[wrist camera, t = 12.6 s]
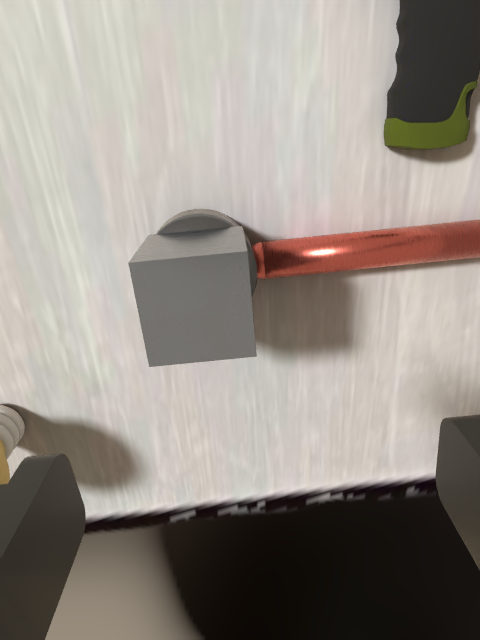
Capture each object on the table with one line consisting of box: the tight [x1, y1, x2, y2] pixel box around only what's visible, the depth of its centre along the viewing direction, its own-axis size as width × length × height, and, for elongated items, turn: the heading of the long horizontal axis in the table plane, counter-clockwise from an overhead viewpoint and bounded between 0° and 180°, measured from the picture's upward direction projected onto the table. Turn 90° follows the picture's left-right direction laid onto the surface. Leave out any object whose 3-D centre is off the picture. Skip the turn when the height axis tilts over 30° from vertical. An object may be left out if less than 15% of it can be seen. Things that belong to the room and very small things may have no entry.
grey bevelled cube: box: [129, 226, 257, 367], centre depth 24 cm, size 6×6×6 cm
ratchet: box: [157, 209, 480, 297], centre depth 26 cm, size 23×7×8 cm, turn 95°
